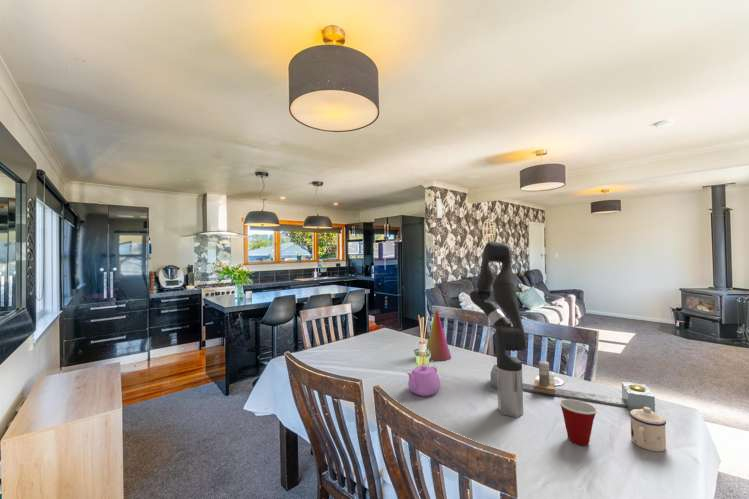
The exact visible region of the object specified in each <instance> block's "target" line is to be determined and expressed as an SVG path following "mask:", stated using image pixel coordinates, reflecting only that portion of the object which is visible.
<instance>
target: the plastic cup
mask: <svg viewBox="0 0 749 499" xmlns="http://www.w3.org/2000/svg"><path fill="white" fill-rule="evenodd" d="M558 402H559V405H560V407H561V411H562V416H563V421H564V425H565V430H566V435H567V438H568V441H569V442H570V443H572V444H574V445H577V446H580V447H586V446H588V445H589V443H590V439H591V435H592V431H593V430H592V429H593V425H594V420H595V416H596V414H597V413H598V408H597V407H595V406H593V404H590V403H587V402H585V401H583V400H578V399H571V398H562V399H560V400H558Z"/></svg>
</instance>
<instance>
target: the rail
mask: <svg viewBox="0 0 749 499" xmlns="http://www.w3.org/2000/svg"><path fill="white" fill-rule="evenodd" d="M522 385H523V392H529V393H535V394H541V395H546V396H547V395H548V396H554V397H559V398H564V399H573V400H578V401H583V402H585V401H586V402H590V403H591V402H592V403H597V404H602V405H611V406H615V407H621V408H622V407H623V408H627V410H628V412H630V411H631V410H634V409H643V407H649V408H650V409H651V411H653V412H654V413H656V400H655V395H654V394H653V392H652V391H651V390H650V388H649V387H648V386H647V384H643V383H635V382H627V381H621V397H620V398H619V397H613V396H608V395H601V394H595V393H589V392H582V391H575V390H568V389H563V388H556V387H555V394H550V393H544V392H538V391H534V384H531V383H529V384H528V383H523V382H522ZM490 389H494V390H498V388H497V364H493V367H492V368H491V371H490Z"/></svg>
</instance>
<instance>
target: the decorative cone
mask: <svg viewBox="0 0 749 499" xmlns="http://www.w3.org/2000/svg"><path fill="white" fill-rule="evenodd" d="M442 324H443V323H442V321H441V318H440V314H439V311H438V308H437V306H436V307H435V311H434V315H433V319H432V323H431V327H430V331H429V335H428V340H427V344H426V347H427V349H429V350H430V351H431V357H430V360H433V361H432V362H439V361H440V362H447V360H448V361H450V360H452V355H451V351H450V349H449V344H448V342H447V338H446V336H445V331H444V328H443V325H442ZM430 360H429V361H430Z"/></svg>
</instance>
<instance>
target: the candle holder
mask: <svg viewBox="0 0 749 499" xmlns="http://www.w3.org/2000/svg"><path fill="white" fill-rule="evenodd" d="M535 379H538V380H539V375H537V376H536V377H534V380H535ZM556 380H557V381H558V382H559V383H556V382H555V381H556ZM549 381H552V382H554V383H555V386H562V385H563V384H564V381H563V379H561V378H559V377H556V376H555V372H553V371H550V370H549Z"/></svg>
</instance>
